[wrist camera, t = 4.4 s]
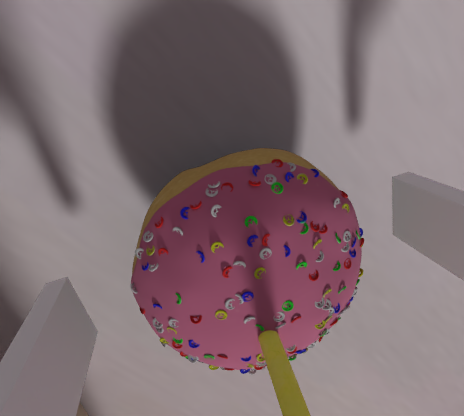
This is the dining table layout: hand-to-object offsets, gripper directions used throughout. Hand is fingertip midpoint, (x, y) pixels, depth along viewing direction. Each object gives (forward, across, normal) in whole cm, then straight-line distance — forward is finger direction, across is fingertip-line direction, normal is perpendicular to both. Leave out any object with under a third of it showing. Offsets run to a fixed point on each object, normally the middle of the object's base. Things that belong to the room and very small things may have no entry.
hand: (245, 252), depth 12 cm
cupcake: (+4, 0, 0) cm, 4 cm away
